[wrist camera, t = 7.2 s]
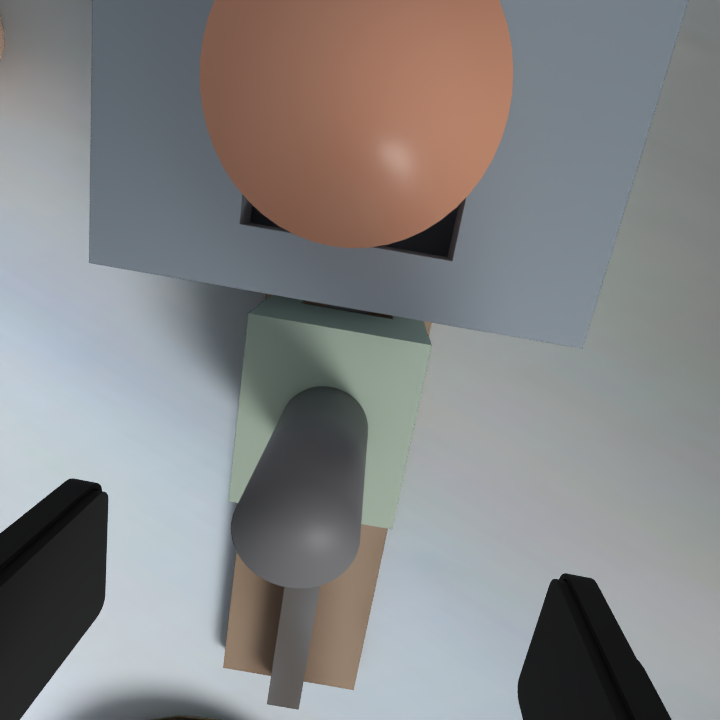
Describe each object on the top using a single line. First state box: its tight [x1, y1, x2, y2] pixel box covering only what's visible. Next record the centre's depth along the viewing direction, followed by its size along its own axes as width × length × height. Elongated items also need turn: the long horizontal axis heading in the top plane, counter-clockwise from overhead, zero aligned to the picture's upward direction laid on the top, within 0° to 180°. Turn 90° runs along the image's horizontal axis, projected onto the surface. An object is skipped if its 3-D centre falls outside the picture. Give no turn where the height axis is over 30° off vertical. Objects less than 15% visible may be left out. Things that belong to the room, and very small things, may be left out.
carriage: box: [229, 295, 432, 588], centre depth 17 cm, size 6×7×10 cm
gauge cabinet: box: [89, 0, 688, 348], centre depth 16 cm, size 13×8×10 cm, turn 80°
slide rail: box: [223, 294, 432, 710], centre depth 24 cm, size 7×21×3 cm, turn 170°
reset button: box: [200, 0, 513, 248], centre depth 10 cm, size 5×5×5 cm
